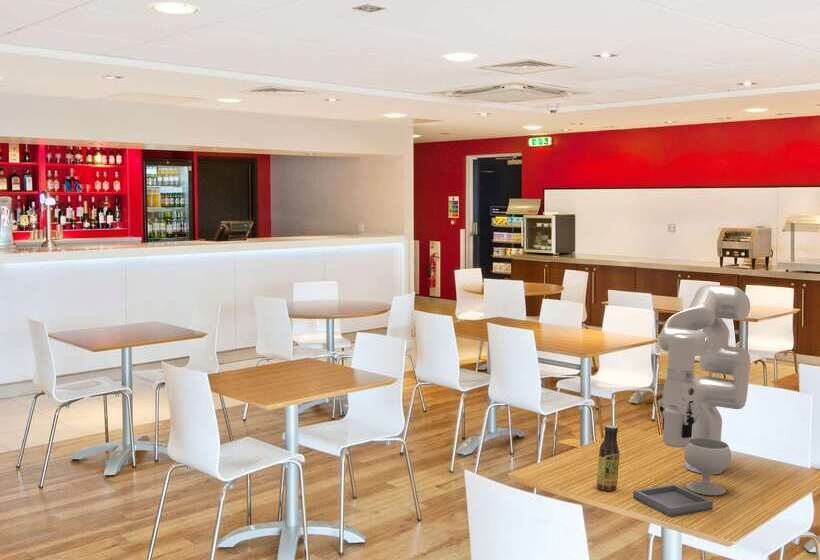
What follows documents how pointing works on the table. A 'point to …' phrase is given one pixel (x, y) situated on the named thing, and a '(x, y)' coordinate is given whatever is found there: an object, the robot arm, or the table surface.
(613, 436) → the sauce bottle
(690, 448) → the chalice
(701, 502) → the tray
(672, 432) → the can
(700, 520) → the table surface
